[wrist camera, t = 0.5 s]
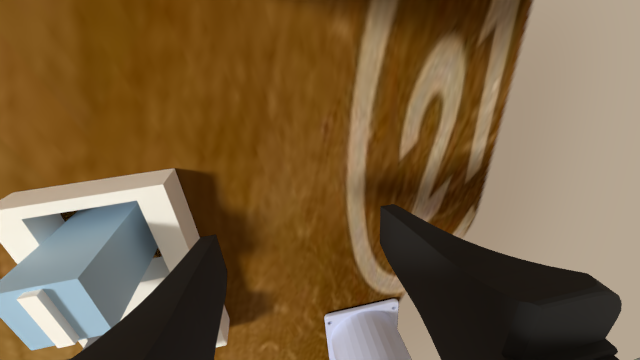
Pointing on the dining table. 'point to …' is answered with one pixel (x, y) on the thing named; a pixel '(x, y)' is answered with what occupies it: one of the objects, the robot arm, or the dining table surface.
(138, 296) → the housing
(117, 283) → the block
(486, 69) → the dining table surface
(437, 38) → the dining table surface
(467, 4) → the dining table surface
